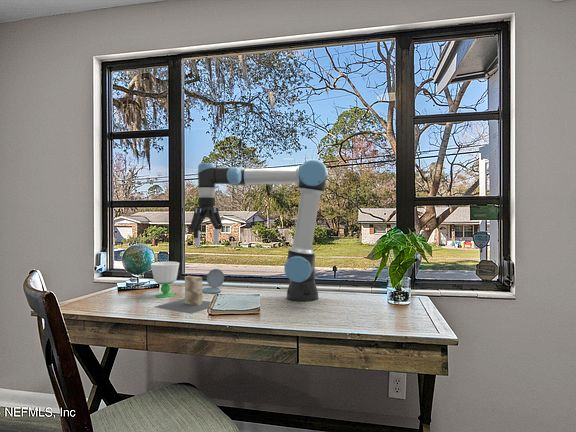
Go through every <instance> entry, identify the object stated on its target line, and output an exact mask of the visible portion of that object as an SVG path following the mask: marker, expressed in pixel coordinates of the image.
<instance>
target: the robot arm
mask: <svg viewBox="0 0 576 432" xmlns="http://www.w3.org/2000/svg"><path fill="white" fill-rule="evenodd" d="M197 169H198V170H197V182H198V183H197V184H198V185H197V187H198V200H197V201H198V204H197V205H198V206H199V207H195V208H194V209H193V211H194V212H193V216H192V219H191V223H190V226H189V229H190V230H191V231H192V232H193V238H194V242H193V243H194V246H201V231H200V230H199V229H201V225H202V224H203V222H204V220H205V219H206V218H208V219H209V221H210V222H211V224H212V226H213V230H212V232H213V233H212V234H213V235H212V236H213V238H212V239H213V244H220V242H219V241H220V238H219V237H220V230H221V229H223V223H222V219H221V216H220V212H219V207H214V206H215V205H216V198H215V196H216V185H230V186H231V185H232V186H236V187H238V186H247V185H251V186H252V185H285V184H287V185H288V184H297V185H298V187H297V189H298V190H299V192H300V197H299V202H298V203H299V204H298V209H297V215H296V222H295V228H294V235H293V239H292V240H293V241H292V246H291V247H289V248H288V252H287V256H286V257H287V259H286V262H285V264H284V267H283V268H284V269H283V270H284V273H285V275H286V277H287V278H288V279H289V284H288V288H287V291H286V298H287V299H288V300H291V301H298V302H310V301H315V300H318V299H319V290H318V289H317V287H318V286H317V285H316V281H315V279H316V276H315V275H316V274H315V273H316V272H315V269H316V268H315V266H316V265H315V263H316V262H315V260H316V259H315V258H316V255H315V254H316V253H315V251H314V250H313V249H312V248H313V245H314V244H313V243H314V235H315V229H316V224H317V217H318V211H319V204H320V199H321V198H320V197H321V196H322V194H324V193H325V187H326V183H327V180H328V177H329V171H328V168H327V166H326V164H324V162H323V161H322V160H319V159H315V158H310V159H307V160H306V161H304V162H302V164H299V165H297V166H296V167H295V166H294V167H276V168H275V167H273V168H272V167H271V168H267V167H266V168H245V169H243V168H242V169H240V168H239V167H234V166H231V167H230V166H229V167H226V166H225V167H216V166H215V164H214V163H213V162H201V163H199V164H198V167H197Z"/></svg>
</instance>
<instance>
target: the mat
mask: <svg viewBox="0 0 576 432" xmlns="http://www.w3.org/2000/svg"><path fill="white" fill-rule="evenodd" d="M211 302H212V301H207V300H202V305H199V306H198V305H192V304H186V303H185V298H182V299H179V300H174V301H170V302H167V303H163V304H159V305H156V306H154V308H156V309H162V310H163V309H164V310H168V311H174V312H179V313H186V314H192V315H193V314H195V313H198V312H201V311H204V310H208V309H210V308H209V305H210V303H211Z"/></svg>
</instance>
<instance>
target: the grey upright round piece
mask: <svg viewBox="0 0 576 432" xmlns="http://www.w3.org/2000/svg"><path fill="white" fill-rule="evenodd" d="M224 281H225V274H224V272H223V271H222V270H220V269H218V268H214V269H211V270H210V271H209V272H208V273H207V275H206V282H207V285H209V286H210V287H204V288H203V287H202V295H207V294H209V295H216V294H219V293H221V291H222V290H221V288H220V287H221V286H222V285H223V283H224Z"/></svg>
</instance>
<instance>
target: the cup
mask: <svg viewBox="0 0 576 432" xmlns="http://www.w3.org/2000/svg"><path fill="white" fill-rule="evenodd" d="M179 267H180V262H178V261H156V262H152V263H151V264H150V270H151V272H152V277H153V281H154V282H155V283H156V284H159V285H161V287H160V291H161V293H158V294H156V295H155V297H156V298H170V297H174V296H175V295H176V294H175V293H172V292H170V291H171V286H170V284H173V283H174V282H176V281H177V279H178V273H179Z"/></svg>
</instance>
